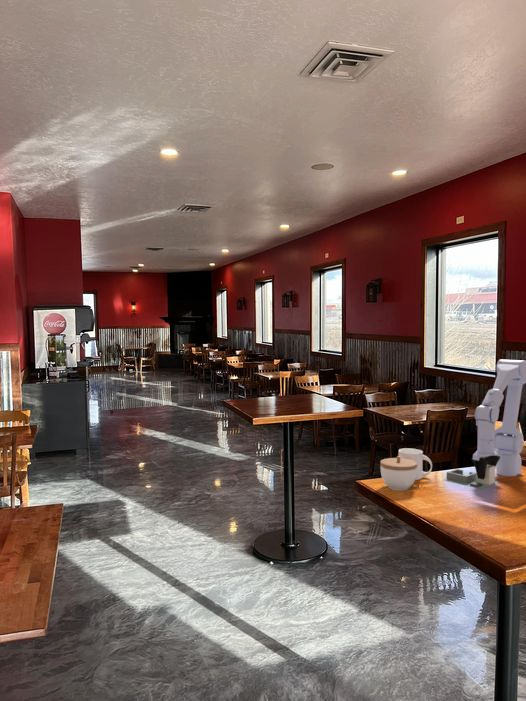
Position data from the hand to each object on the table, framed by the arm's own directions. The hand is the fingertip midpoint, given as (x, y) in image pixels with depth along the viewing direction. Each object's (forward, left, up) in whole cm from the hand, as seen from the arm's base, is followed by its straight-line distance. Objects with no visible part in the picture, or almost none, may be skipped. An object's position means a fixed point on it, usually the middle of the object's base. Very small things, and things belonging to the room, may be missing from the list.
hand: (485, 477), depth 198 cm
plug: (-2, 0, -2) cm, 3 cm away
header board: (+2, -4, -3) cm, 6 cm away
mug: (+13, -20, -3) cm, 24 cm away
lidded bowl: (+26, -18, -3) cm, 32 cm away
